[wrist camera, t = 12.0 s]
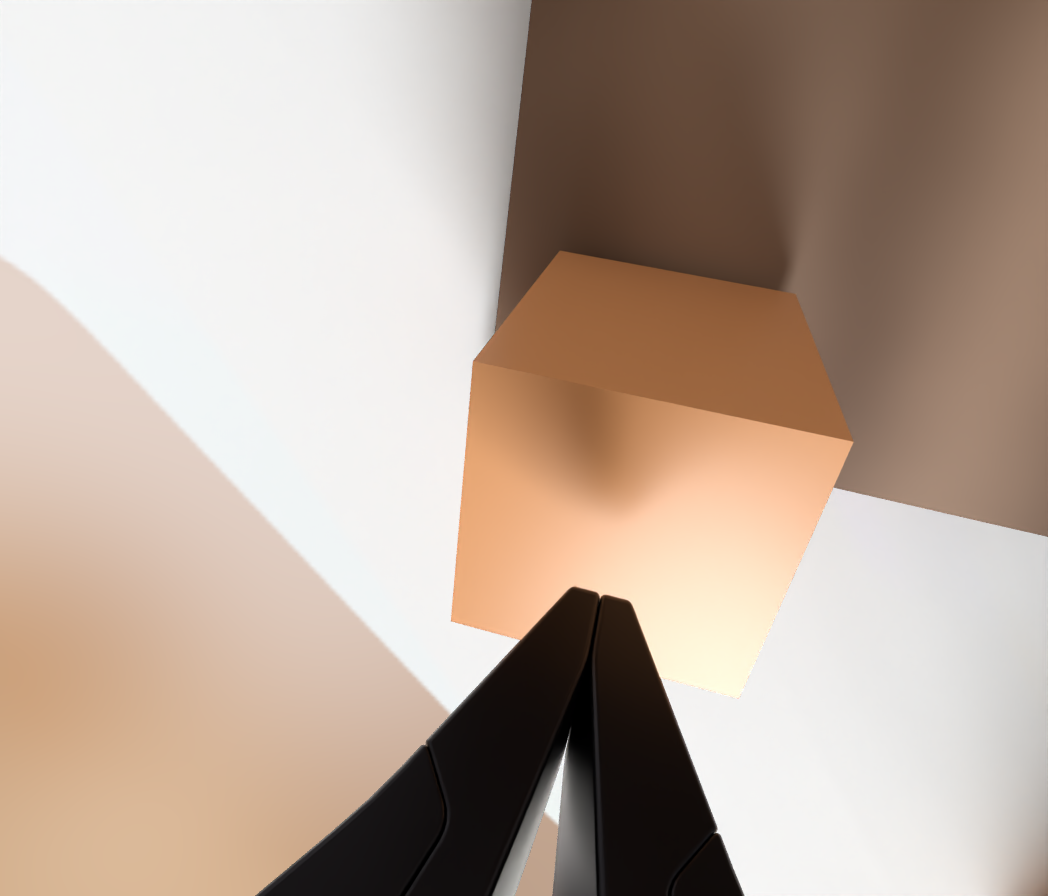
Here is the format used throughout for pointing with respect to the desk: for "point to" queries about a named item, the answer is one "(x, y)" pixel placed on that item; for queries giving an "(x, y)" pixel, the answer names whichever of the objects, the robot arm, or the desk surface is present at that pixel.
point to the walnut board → (823, 205)
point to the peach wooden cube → (647, 460)
